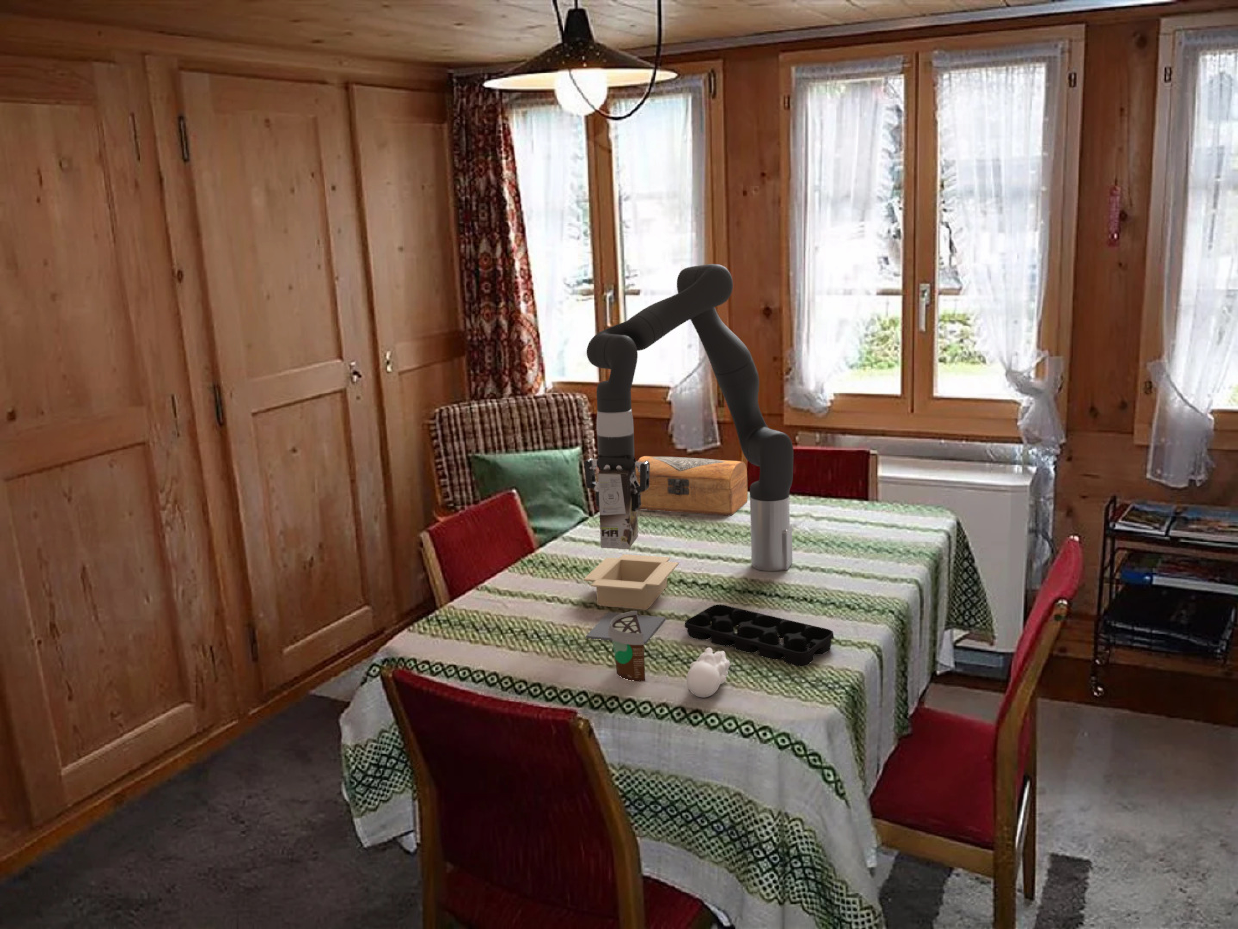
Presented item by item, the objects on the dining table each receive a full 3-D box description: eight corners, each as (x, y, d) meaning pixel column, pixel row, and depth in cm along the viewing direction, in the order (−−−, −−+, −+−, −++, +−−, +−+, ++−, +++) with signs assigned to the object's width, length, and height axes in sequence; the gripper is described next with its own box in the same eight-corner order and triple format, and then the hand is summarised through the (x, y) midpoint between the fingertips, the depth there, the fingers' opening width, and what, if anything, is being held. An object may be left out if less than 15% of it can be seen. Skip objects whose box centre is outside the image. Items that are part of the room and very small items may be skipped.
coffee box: (630, 549, 222) (627, 473, 218) (600, 548, 223) (596, 473, 219) (639, 536, 230) (636, 463, 226) (610, 535, 232) (607, 462, 228)
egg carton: (817, 673, 201) (816, 654, 200) (671, 649, 215) (670, 632, 214) (843, 637, 216) (843, 620, 215) (706, 617, 230) (705, 601, 229)
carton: (683, 582, 250) (682, 558, 249) (655, 616, 231) (654, 589, 230) (612, 577, 256) (611, 553, 255) (580, 609, 237) (578, 583, 236)
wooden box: (631, 510, 310) (628, 464, 307) (653, 495, 324) (651, 450, 321) (730, 518, 298) (728, 469, 294) (748, 502, 312) (747, 455, 309)
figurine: (671, 686, 192) (692, 654, 203) (697, 713, 192) (717, 680, 203) (697, 665, 189) (716, 634, 200) (723, 692, 189) (742, 660, 199)
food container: (608, 660, 211) (605, 612, 208) (639, 657, 211) (636, 609, 209) (613, 687, 199) (610, 637, 197) (646, 684, 199) (643, 634, 197)
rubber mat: (665, 620, 229) (665, 617, 229) (645, 644, 217) (645, 641, 217) (608, 615, 233) (608, 612, 233) (586, 638, 222) (585, 635, 221)
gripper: (654, 429, 222) (656, 506, 226) (590, 426, 227) (593, 502, 231) (641, 436, 215) (644, 516, 219) (575, 433, 220) (579, 511, 224)
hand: (618, 509), depth 225 cm, fingers closed on coffee box, 7 cm apart
